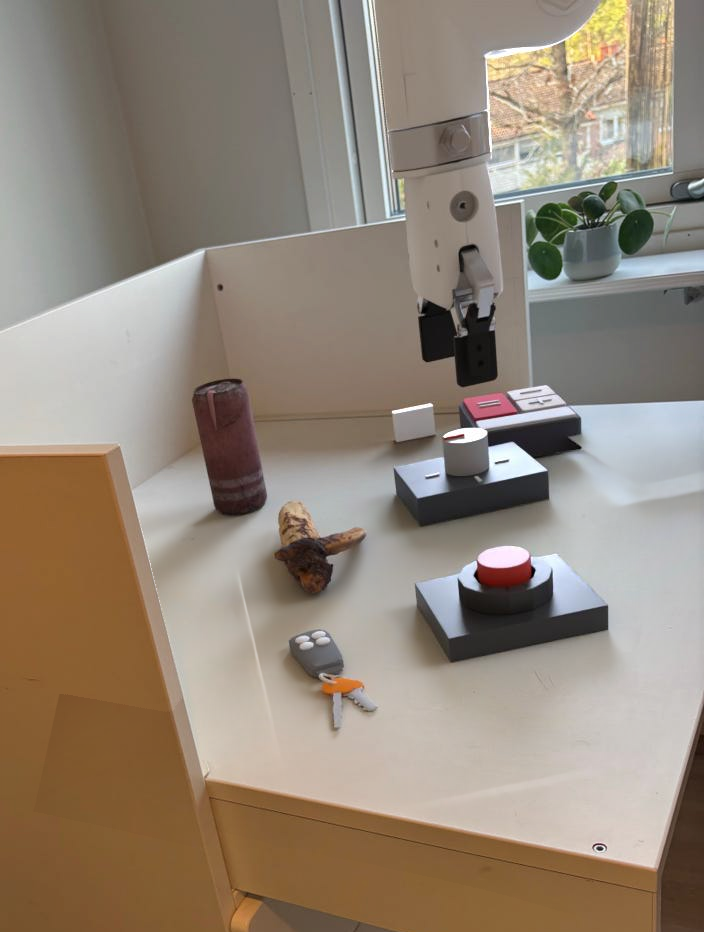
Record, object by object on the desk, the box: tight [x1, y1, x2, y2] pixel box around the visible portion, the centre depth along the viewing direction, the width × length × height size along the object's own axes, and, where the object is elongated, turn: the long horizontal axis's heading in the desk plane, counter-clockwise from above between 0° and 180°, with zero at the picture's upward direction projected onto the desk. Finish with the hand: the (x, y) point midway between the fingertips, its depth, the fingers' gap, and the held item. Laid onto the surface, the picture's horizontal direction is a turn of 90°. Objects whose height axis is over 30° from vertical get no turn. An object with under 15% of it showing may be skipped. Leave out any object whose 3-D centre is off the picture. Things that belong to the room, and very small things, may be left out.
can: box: [191, 377, 268, 517], centre depth 106 cm, size 6×6×14 cm
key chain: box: [288, 629, 379, 730], centre depth 73 cm, size 13×4×2 cm, turn 13°
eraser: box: [391, 402, 437, 443], centre depth 118 cm, size 1×5×4 cm, turn 91°
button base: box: [414, 552, 609, 664], centre depth 75 cm, size 12×10×4 cm
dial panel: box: [392, 442, 550, 527], centre depth 98 cm, size 13×10×3 cm
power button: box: [476, 545, 532, 587], centre depth 74 cm, size 4×4×2 cm
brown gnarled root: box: [274, 500, 367, 594], centre depth 92 cm, size 9×5×18 cm
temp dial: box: [441, 428, 489, 476], centre depth 97 cm, size 4×4×4 cm
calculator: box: [458, 384, 583, 458], centre depth 110 cm, size 11×4×15 cm
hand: (458, 370), depth 81 cm, fingers open, 9 cm apart
